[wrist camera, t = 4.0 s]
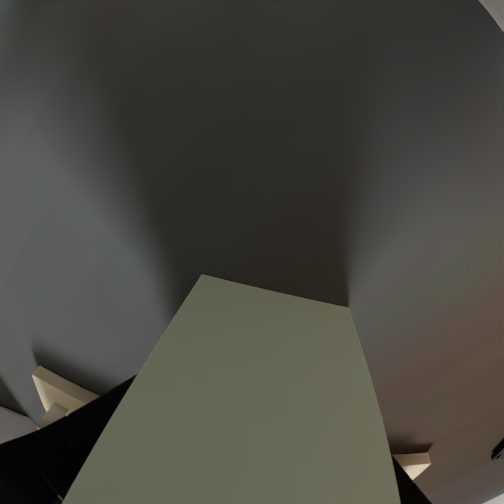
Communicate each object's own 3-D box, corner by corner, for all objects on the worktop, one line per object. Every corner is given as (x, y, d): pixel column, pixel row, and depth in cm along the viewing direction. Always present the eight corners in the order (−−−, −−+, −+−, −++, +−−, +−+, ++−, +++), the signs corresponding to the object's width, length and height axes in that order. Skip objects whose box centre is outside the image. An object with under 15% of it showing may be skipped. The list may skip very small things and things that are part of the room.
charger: (-37, 383, 17) (28, 411, 15) (7, 442, 20) (88, 479, 18) (-59, 406, 13) (-3, 450, 10) (-10, 466, 16) (69, 515, 13)
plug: (348, 307, 9) (410, 591, 1) (305, 405, 10) (298, 607, 3) (202, 274, 9) (42, 540, 1) (188, 379, 10) (110, 571, 3)
